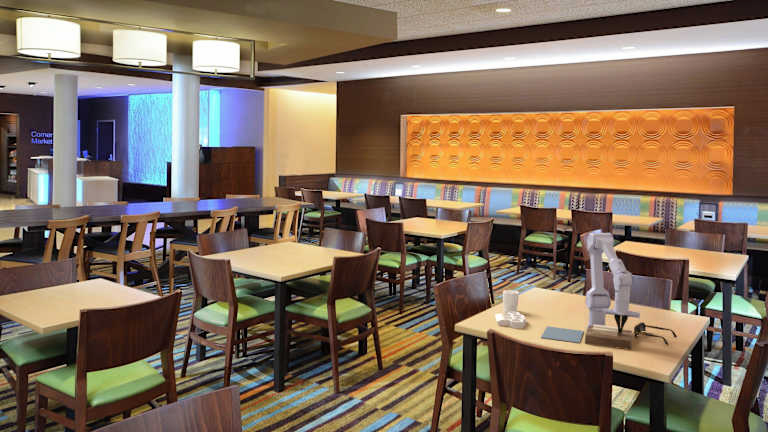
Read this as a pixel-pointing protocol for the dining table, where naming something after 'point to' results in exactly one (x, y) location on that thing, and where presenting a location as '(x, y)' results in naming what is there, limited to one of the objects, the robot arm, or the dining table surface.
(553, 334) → the mat
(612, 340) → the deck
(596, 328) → the cream rectangular block
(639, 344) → the dining table surface
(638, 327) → the sunglasses
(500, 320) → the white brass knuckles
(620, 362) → the dining table surface
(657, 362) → the dining table surface
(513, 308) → the white cup
